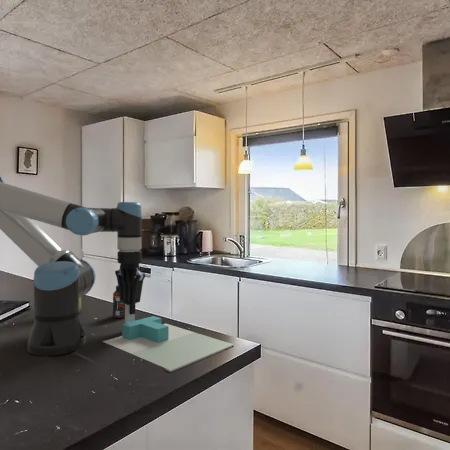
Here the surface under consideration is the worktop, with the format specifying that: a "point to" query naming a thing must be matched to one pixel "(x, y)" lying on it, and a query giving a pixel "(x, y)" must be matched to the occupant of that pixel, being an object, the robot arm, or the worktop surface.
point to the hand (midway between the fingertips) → (129, 323)
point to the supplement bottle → (118, 305)
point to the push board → (172, 348)
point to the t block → (146, 329)
